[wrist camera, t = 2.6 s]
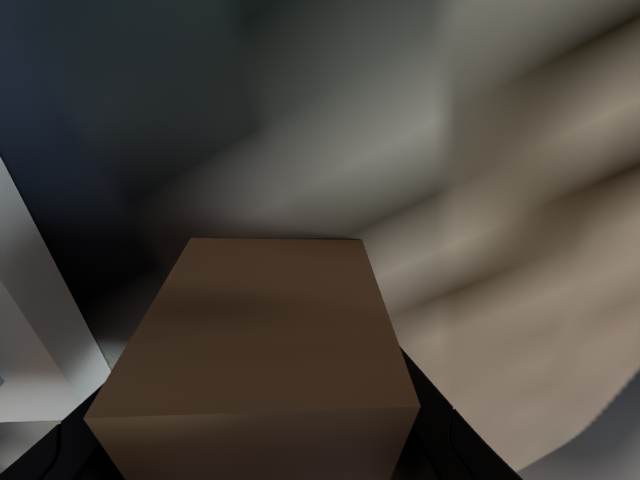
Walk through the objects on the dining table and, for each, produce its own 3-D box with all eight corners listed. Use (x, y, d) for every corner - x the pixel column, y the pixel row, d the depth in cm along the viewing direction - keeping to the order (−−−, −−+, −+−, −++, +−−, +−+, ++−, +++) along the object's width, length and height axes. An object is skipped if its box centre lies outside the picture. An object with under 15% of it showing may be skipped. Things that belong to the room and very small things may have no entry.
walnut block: (345, 348, 11) (373, 518, 7) (214, 351, 11) (161, 533, 7) (362, 240, 9) (420, 406, 5) (190, 237, 8) (83, 418, 4)
